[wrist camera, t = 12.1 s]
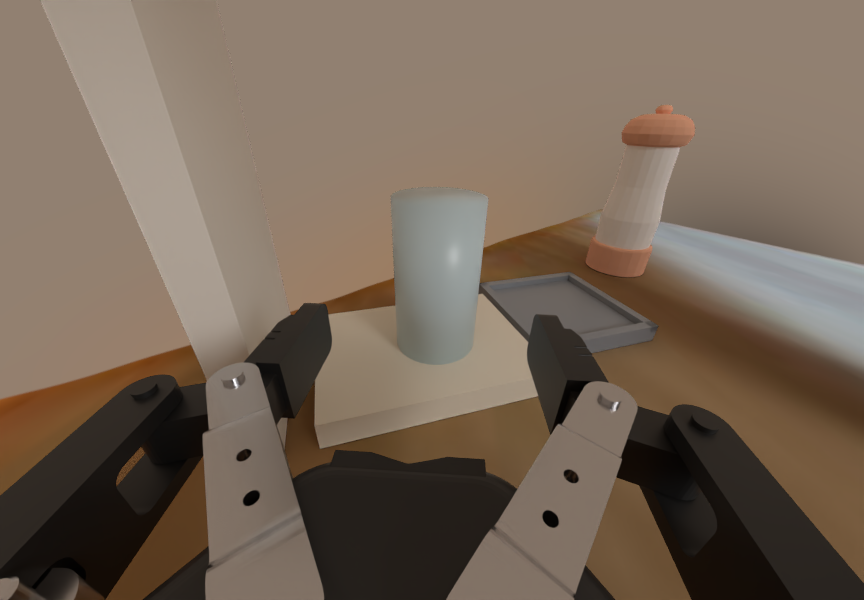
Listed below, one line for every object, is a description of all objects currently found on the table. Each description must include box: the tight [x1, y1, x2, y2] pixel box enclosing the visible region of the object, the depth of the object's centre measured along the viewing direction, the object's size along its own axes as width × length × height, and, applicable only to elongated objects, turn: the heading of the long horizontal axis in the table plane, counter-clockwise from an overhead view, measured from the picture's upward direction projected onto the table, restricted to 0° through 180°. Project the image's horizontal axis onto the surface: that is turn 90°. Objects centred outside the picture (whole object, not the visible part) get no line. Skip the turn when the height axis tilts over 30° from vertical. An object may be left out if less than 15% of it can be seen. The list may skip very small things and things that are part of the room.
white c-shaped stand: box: [40, 0, 538, 449], centre depth 18 cm, size 20×12×32 cm, turn 107°
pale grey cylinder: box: [391, 187, 488, 365], centre depth 22 cm, size 6×6×11 cm
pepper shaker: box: [585, 105, 695, 277], centre depth 39 cm, size 7×7×19 cm
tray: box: [478, 272, 658, 353], centre depth 32 cm, size 12×12×2 cm
